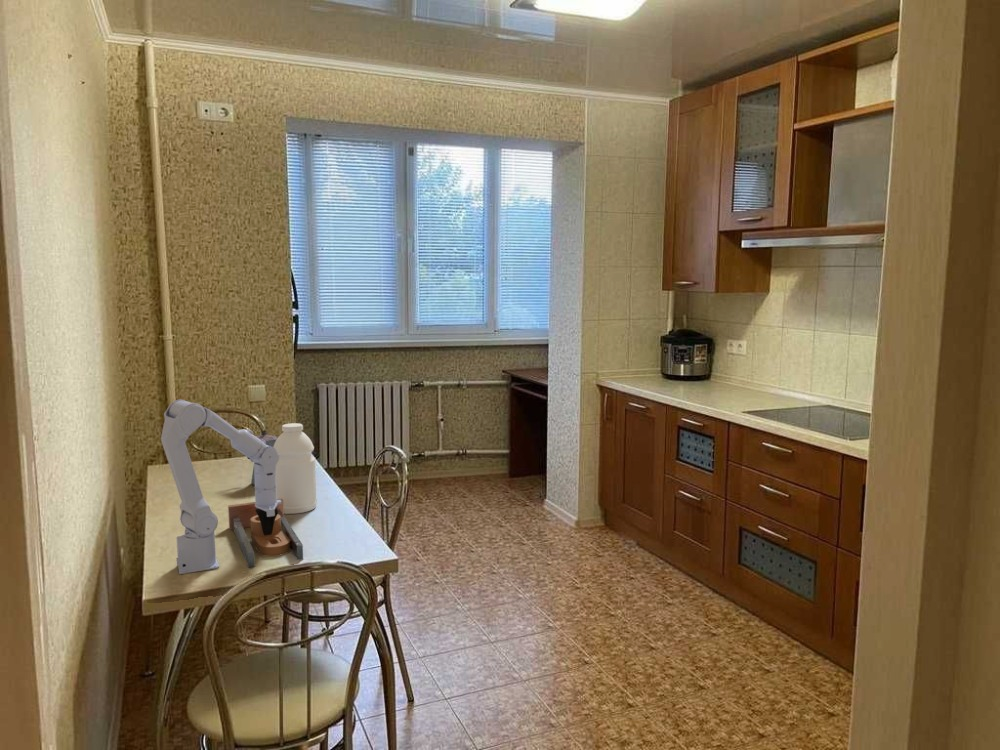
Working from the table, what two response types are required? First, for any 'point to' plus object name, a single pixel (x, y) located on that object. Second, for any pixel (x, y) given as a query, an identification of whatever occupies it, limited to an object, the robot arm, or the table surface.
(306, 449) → the bottle
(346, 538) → the table surface
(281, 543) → the bracket
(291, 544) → the receiver
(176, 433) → the robot arm
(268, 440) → the moka pot
